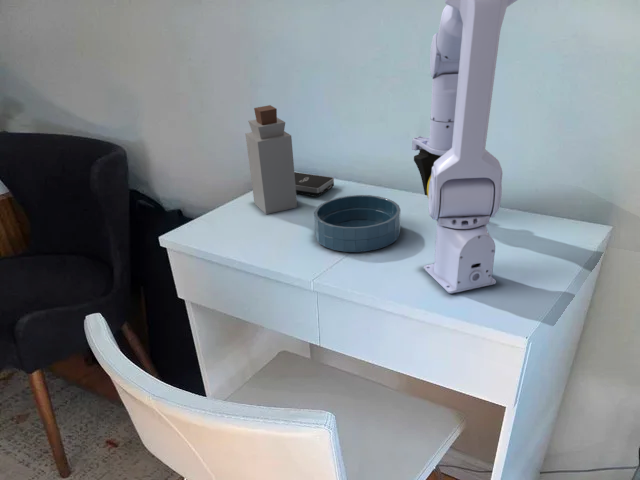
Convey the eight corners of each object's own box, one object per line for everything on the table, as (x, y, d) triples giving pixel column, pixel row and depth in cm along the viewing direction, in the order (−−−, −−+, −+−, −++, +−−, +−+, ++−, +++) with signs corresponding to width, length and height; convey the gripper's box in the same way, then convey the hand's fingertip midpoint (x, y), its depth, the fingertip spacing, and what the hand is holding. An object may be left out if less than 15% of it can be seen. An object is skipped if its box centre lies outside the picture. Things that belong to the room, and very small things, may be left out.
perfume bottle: (254, 203, 125) (242, 107, 113) (284, 196, 127) (275, 101, 115) (266, 214, 120) (254, 115, 109) (297, 207, 122) (289, 109, 111)
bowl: (413, 243, 106) (414, 218, 103) (330, 260, 103) (329, 234, 100) (380, 213, 117) (380, 189, 114) (305, 227, 114) (303, 203, 111)
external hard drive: (318, 198, 125) (317, 188, 124) (274, 191, 130) (273, 181, 128) (335, 187, 129) (334, 177, 128) (291, 180, 134) (291, 171, 133)
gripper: (496, 120, 100) (487, 202, 109) (433, 106, 109) (428, 182, 118) (467, 129, 97) (459, 213, 106) (404, 114, 106) (402, 192, 115)
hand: (441, 198), depth 112 cm, fingers closed on lemon, 5 cm apart
